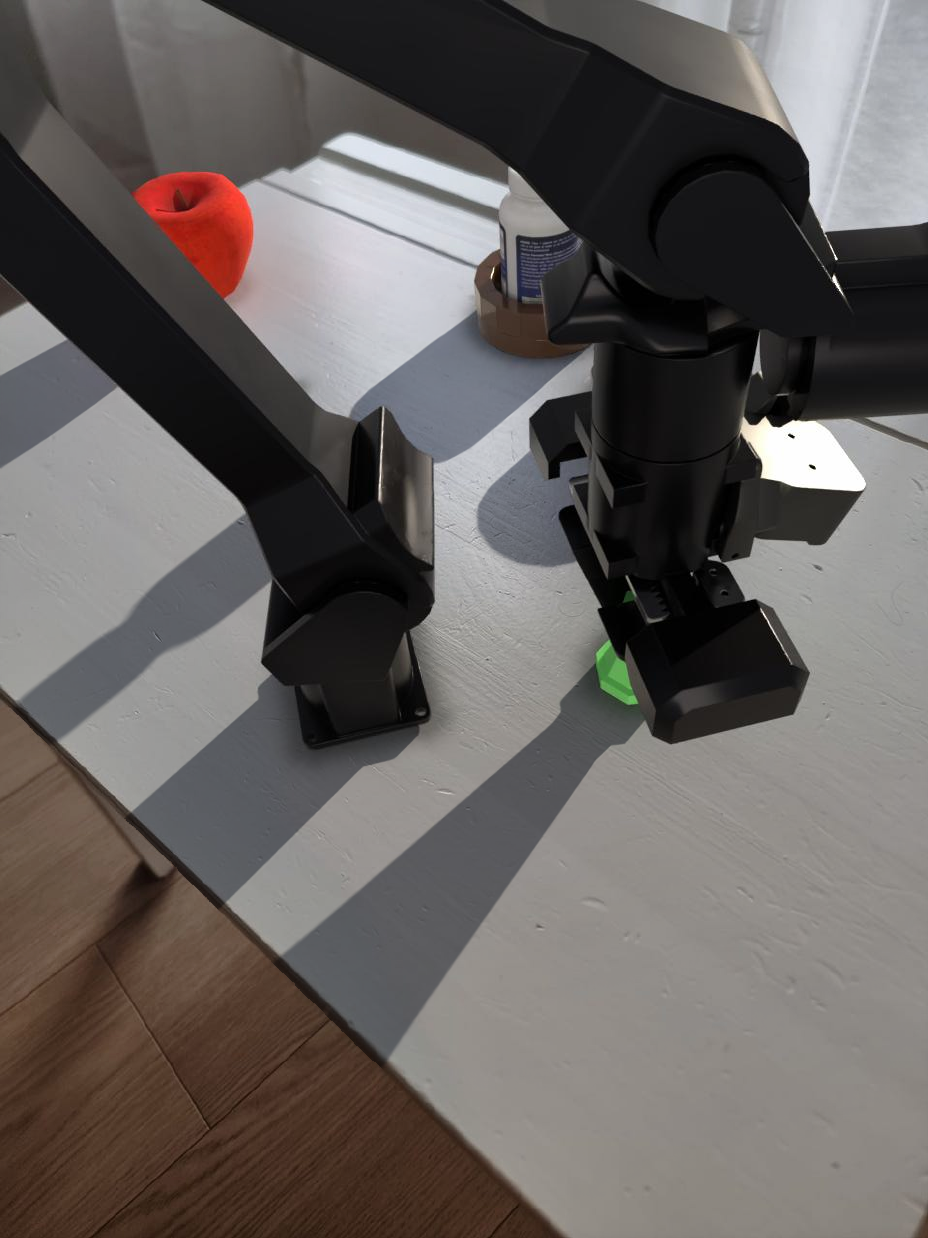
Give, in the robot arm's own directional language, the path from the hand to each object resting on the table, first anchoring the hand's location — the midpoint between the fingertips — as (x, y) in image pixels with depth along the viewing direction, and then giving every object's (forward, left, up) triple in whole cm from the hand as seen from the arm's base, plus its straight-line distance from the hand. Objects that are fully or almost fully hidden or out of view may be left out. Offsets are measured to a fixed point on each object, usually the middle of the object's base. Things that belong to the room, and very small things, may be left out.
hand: (637, 657), depth 50 cm
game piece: (0, 0, -1) cm, 1 cm away
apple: (+43, +19, -1) cm, 47 cm away
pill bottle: (+31, -4, 0) cm, 31 cm away
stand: (+31, -4, -1) cm, 31 cm away
